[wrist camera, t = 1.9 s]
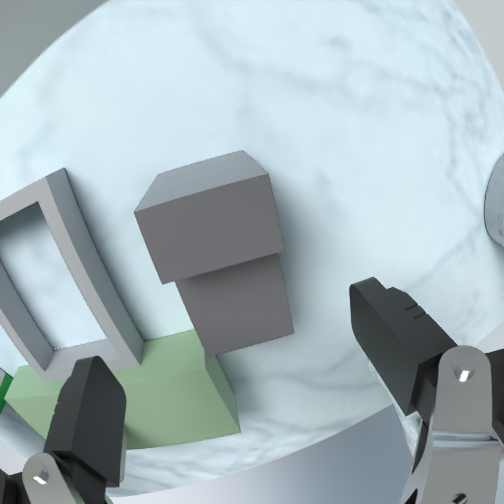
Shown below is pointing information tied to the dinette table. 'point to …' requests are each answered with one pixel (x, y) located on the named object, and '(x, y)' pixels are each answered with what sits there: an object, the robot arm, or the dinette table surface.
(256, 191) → the grey stepped block
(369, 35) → the dinette table surface
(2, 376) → the milk carton
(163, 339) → the multicoloured piece
